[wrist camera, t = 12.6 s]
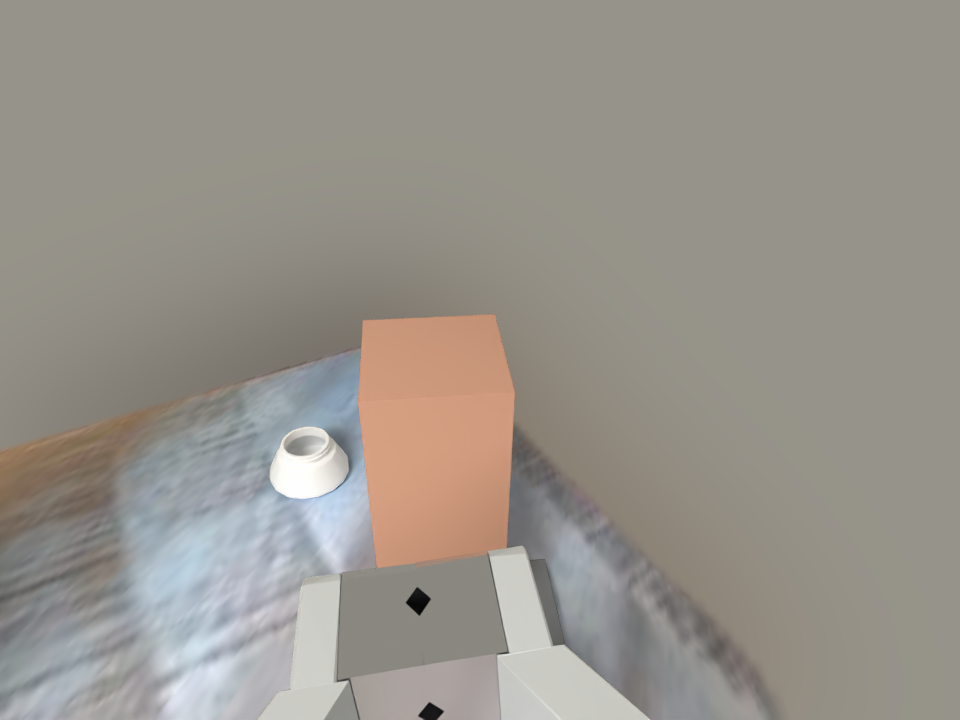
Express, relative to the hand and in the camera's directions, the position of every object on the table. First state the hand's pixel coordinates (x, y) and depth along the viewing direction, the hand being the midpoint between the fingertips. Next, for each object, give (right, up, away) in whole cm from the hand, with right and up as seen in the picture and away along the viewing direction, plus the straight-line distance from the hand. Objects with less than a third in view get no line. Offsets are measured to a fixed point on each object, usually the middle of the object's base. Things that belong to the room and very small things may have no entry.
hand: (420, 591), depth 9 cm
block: (-1, -9, +28) cm, 29 cm away
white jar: (-10, -5, +35) cm, 37 cm away
